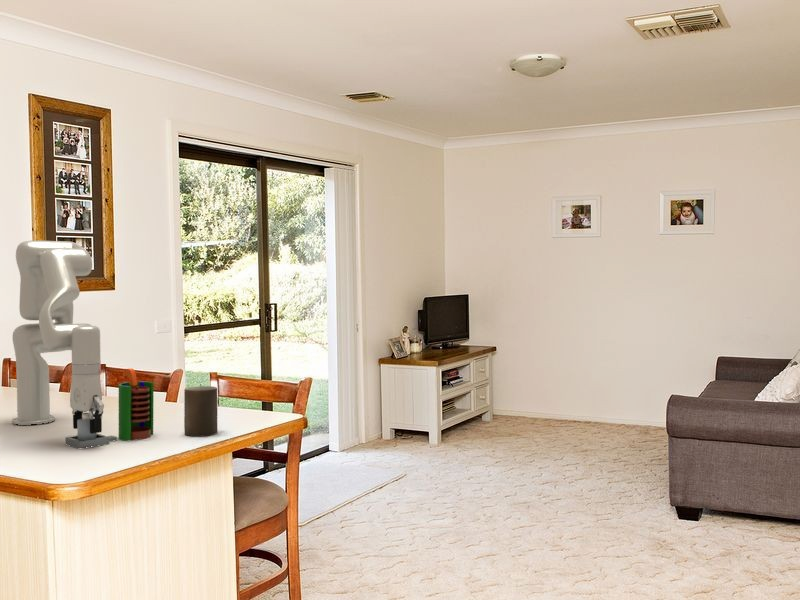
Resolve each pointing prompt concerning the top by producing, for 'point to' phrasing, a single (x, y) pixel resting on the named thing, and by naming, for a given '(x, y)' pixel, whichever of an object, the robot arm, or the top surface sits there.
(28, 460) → the top surface
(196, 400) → the pillar candle
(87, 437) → the pump
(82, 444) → the grey tray
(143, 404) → the motor
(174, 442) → the top surface
